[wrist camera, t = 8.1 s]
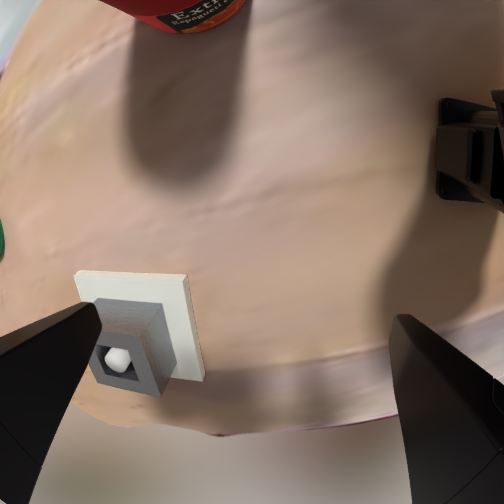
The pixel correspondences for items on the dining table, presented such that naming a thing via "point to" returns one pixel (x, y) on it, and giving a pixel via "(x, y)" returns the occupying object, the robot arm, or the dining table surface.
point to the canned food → (179, 13)
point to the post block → (156, 291)
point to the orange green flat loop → (1, 238)
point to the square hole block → (134, 346)
